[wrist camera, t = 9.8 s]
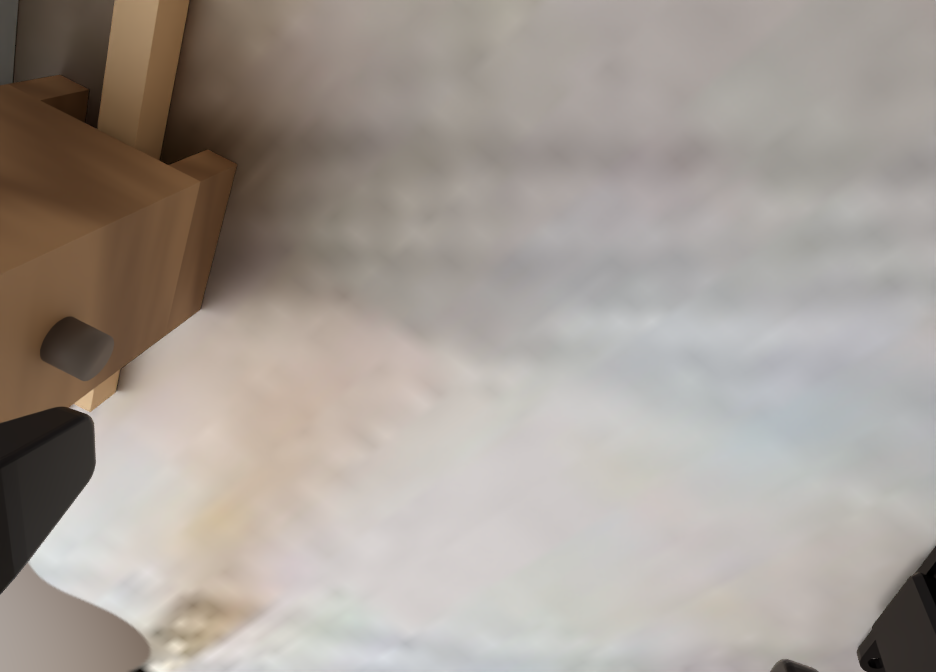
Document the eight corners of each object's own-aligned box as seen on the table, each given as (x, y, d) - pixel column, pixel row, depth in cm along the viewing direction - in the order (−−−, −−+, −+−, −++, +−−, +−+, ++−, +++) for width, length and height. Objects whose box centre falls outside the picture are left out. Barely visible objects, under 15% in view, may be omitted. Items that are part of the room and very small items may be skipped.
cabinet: (266, 179, 22) (4, 320, 13) (226, 323, 24) (-14, 518, 16) (59, 74, 22) (-339, 145, 13) (42, 229, 24) (-297, 373, 16)
